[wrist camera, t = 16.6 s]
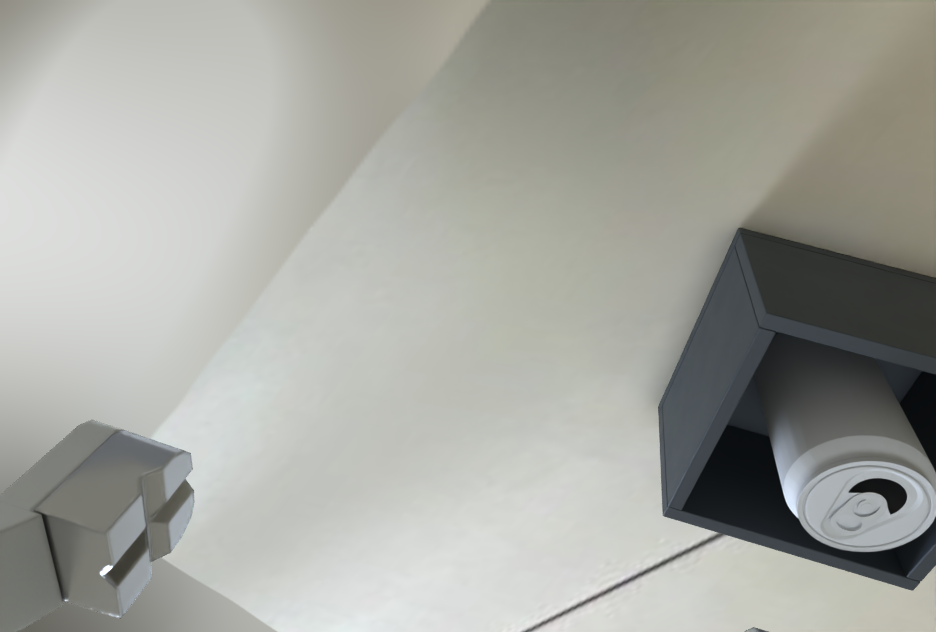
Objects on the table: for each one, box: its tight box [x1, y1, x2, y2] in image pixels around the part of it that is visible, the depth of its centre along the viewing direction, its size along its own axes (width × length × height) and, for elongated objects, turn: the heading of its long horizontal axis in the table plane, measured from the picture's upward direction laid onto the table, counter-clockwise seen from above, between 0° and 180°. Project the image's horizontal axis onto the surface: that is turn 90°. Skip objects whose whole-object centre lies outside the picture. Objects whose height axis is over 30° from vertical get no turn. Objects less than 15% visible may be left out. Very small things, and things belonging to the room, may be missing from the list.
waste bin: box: [658, 228, 936, 590], centre depth 36 cm, size 14×14×10 cm
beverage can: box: [754, 333, 936, 552], centre depth 35 cm, size 6×6×12 cm
